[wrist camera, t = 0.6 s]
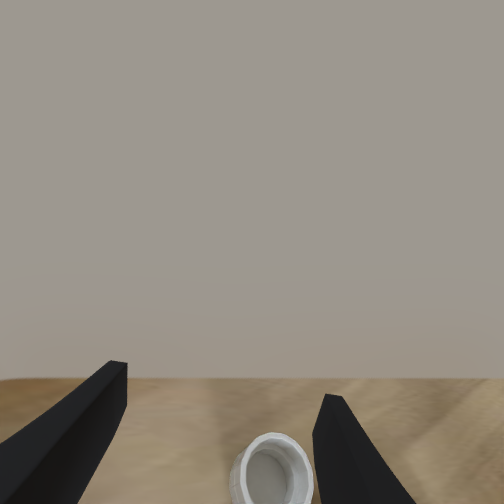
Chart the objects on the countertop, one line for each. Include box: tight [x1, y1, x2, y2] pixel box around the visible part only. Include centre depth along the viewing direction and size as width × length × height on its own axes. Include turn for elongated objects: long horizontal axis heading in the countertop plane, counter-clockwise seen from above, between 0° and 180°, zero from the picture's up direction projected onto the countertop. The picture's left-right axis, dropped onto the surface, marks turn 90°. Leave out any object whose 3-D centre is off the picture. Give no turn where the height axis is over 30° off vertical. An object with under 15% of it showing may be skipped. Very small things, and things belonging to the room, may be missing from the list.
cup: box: [229, 432, 314, 504], centre depth 23 cm, size 5×5×4 cm
